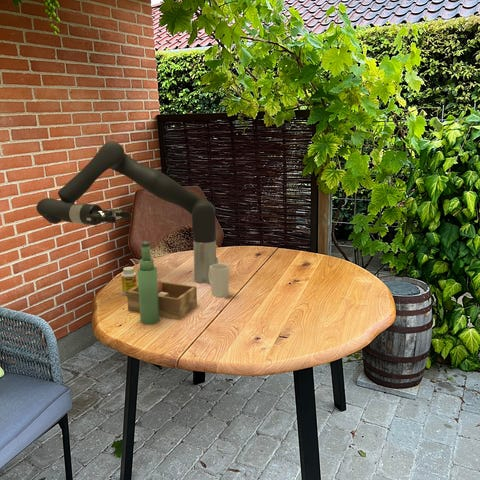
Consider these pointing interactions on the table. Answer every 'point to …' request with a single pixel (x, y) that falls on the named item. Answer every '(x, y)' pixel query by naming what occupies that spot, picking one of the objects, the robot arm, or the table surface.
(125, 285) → the supplement bottle
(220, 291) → the mug
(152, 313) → the green bottle
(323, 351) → the table surface
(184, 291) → the crate
